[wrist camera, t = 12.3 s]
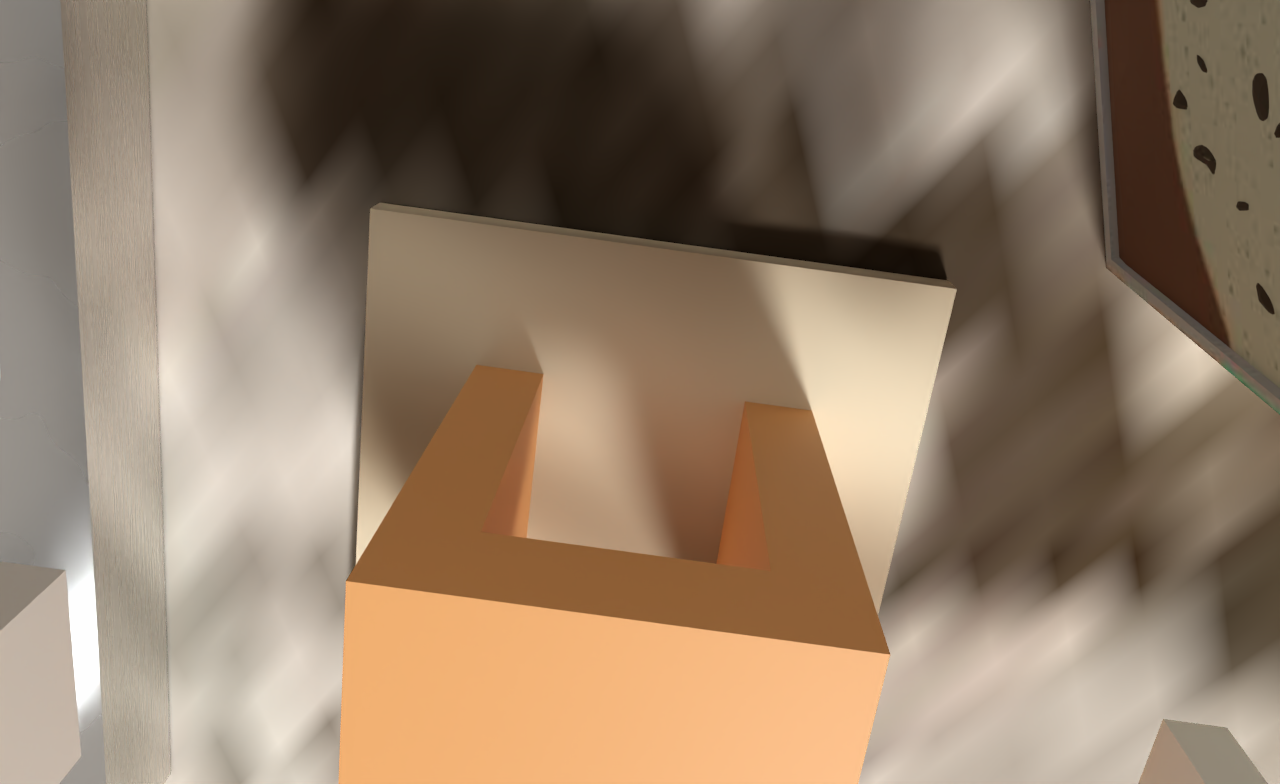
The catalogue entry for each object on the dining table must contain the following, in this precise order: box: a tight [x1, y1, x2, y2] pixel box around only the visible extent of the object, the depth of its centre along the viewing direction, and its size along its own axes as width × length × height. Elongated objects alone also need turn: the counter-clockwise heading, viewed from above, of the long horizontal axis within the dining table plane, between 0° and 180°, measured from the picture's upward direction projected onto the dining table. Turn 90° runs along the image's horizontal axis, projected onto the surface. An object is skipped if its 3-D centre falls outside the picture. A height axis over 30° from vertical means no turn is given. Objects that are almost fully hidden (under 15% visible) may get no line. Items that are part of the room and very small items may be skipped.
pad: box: [356, 203, 957, 615], centre depth 20 cm, size 10×10×1 cm
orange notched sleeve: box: [339, 365, 890, 784], centre depth 16 cm, size 5×6×8 cm
